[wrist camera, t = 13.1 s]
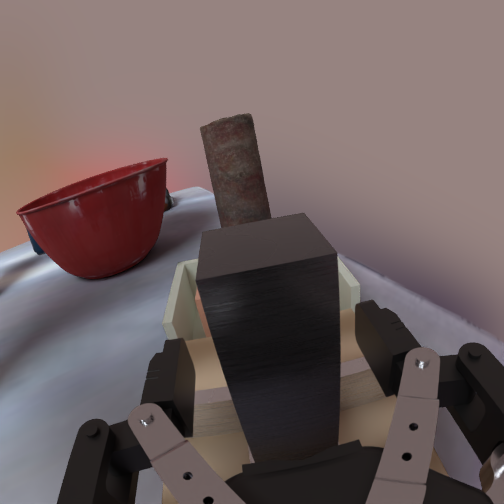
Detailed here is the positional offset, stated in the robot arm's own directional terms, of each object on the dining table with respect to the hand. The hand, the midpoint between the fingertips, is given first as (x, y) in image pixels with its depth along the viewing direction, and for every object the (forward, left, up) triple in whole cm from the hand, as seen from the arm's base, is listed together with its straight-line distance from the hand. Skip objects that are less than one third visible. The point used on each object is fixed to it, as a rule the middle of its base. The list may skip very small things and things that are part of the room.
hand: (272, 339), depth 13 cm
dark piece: (+1, -2, -7) cm, 7 cm away
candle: (-22, +26, -11) cm, 36 cm away
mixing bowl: (-46, +16, -11) cm, 50 cm away
